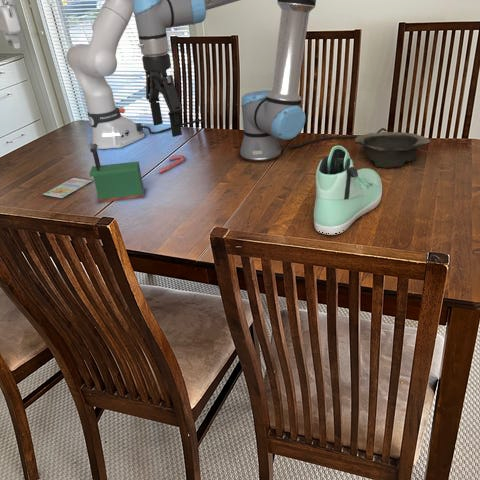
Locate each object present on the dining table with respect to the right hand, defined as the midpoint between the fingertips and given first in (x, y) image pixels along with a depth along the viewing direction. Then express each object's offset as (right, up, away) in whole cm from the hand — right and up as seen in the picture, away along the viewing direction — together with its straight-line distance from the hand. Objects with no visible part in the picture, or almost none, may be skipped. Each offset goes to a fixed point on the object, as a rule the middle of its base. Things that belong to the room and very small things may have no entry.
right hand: (167, 129), depth 141 cm
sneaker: (+53, -23, -3) cm, 58 cm away
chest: (-17, -18, +16) cm, 29 cm away
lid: (-18, -10, +11) cm, 24 cm away
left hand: (-52, +31, +15) cm, 63 cm away
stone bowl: (+74, -4, +26) cm, 78 cm away
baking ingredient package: (-38, -15, +24) cm, 47 cm away
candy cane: (-4, -5, +35) cm, 35 cm away
